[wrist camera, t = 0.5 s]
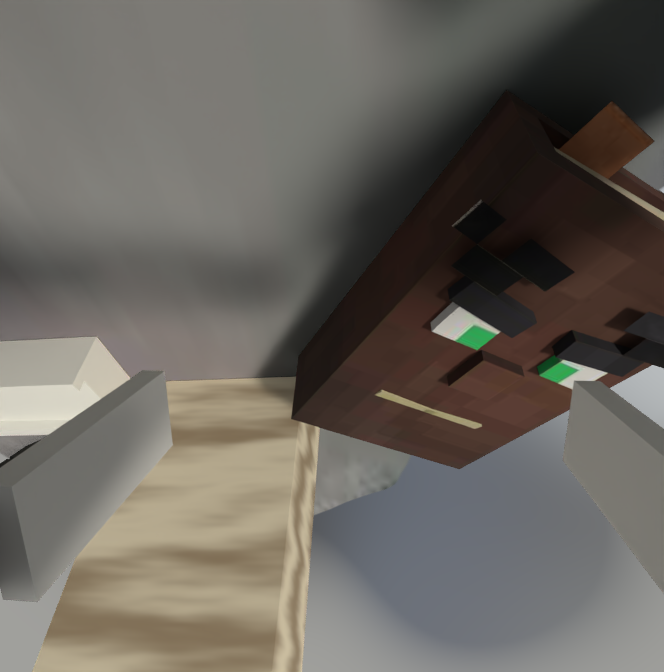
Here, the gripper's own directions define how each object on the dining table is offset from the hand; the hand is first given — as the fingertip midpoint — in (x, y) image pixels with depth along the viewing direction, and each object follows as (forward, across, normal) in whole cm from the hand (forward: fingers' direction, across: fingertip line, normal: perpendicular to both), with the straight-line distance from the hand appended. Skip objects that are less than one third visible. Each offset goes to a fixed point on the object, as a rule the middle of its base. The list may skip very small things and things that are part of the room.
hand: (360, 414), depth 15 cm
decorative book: (+21, +8, 0) cm, 23 cm away
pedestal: (+29, -14, -13) cm, 35 cm away
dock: (+25, -31, -8) cm, 40 cm away
